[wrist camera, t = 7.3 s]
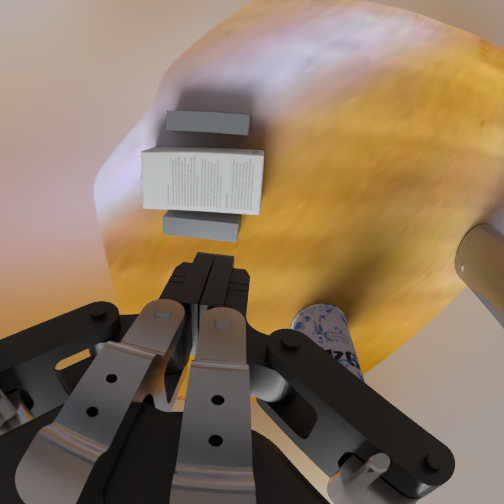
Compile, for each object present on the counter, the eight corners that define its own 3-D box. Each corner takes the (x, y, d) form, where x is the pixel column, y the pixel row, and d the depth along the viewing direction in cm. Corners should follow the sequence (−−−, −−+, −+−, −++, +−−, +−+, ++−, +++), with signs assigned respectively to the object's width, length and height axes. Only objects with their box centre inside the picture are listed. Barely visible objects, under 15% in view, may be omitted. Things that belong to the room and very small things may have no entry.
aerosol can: (356, 311, 38) (400, 438, 20) (331, 351, 42) (354, 472, 24) (304, 296, 37) (326, 436, 20) (282, 340, 41) (287, 470, 23)
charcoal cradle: (251, 115, 28) (249, 115, 26) (239, 231, 34) (236, 242, 31) (175, 110, 28) (166, 110, 26) (171, 224, 34) (163, 234, 31)
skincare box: (265, 149, 30) (154, 145, 30) (265, 155, 26) (139, 150, 26) (260, 204, 33) (155, 197, 33) (259, 217, 29) (141, 209, 29)
